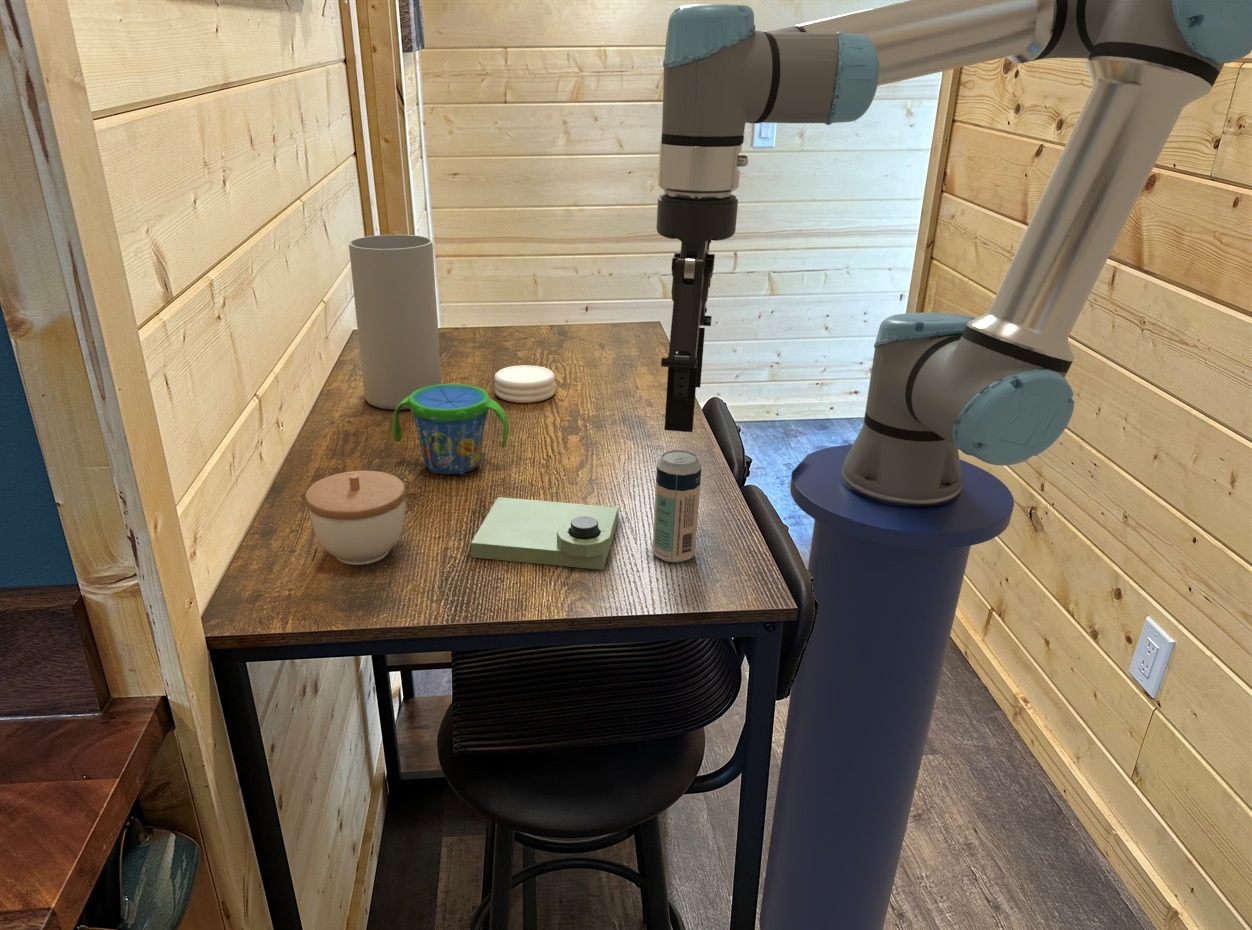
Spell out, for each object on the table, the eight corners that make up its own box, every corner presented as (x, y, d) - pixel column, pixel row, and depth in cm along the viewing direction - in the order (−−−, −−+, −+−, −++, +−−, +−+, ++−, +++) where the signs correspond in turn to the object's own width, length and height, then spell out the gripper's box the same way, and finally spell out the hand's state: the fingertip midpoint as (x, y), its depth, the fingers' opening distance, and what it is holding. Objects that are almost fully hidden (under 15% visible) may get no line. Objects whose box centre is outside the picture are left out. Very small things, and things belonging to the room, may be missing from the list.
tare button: (599, 529, 102) (600, 517, 101) (595, 542, 99) (595, 529, 98) (573, 527, 102) (573, 514, 101) (568, 539, 100) (568, 527, 99)
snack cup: (518, 456, 128) (516, 387, 123) (496, 487, 119) (493, 414, 114) (413, 446, 131) (408, 378, 126) (384, 476, 122) (377, 404, 117)
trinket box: (358, 521, 110) (350, 450, 106) (429, 543, 105) (423, 469, 101) (293, 559, 102) (281, 483, 97) (366, 585, 97) (357, 506, 93)
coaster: (560, 385, 155) (560, 366, 154) (548, 405, 146) (548, 384, 145) (503, 382, 157) (502, 362, 155) (488, 401, 148) (487, 381, 146)
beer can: (696, 547, 105) (704, 450, 99) (692, 567, 100) (699, 467, 95) (655, 542, 106) (660, 446, 100) (649, 562, 101) (654, 463, 96)
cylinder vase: (445, 385, 155) (436, 234, 144) (438, 411, 144) (427, 249, 133) (371, 386, 155) (356, 234, 144) (358, 411, 144) (341, 249, 132)
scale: (621, 521, 110) (622, 495, 109) (606, 574, 99) (606, 546, 97) (498, 510, 113) (497, 484, 111) (468, 561, 101) (467, 533, 100)
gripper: (735, 214, 74) (714, 455, 83) (740, 178, 96) (723, 372, 105) (643, 210, 75) (633, 448, 85) (669, 176, 97) (659, 368, 107)
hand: (683, 406), depth 95 cm, fingers open, 13 cm apart
